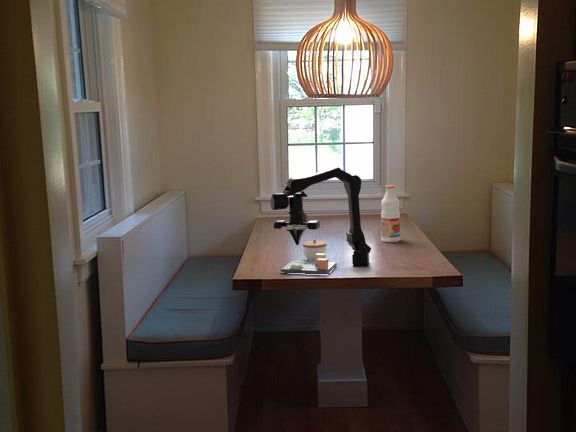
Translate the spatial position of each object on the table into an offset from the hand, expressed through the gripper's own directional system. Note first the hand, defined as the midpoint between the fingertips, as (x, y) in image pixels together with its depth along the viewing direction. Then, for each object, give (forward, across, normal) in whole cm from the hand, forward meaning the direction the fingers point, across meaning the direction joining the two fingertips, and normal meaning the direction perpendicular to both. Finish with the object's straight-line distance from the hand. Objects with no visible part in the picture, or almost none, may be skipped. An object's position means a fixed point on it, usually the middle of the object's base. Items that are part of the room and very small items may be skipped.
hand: (297, 244), depth 286 cm
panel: (+12, -3, -4) cm, 13 cm away
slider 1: (+10, -7, -9) cm, 15 cm away
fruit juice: (+12, -26, -70) cm, 76 cm away
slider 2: (+10, -11, 0) cm, 14 cm away
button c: (+11, +1, 0) cm, 11 cm away
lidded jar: (+12, 0, -24) cm, 26 cm away
